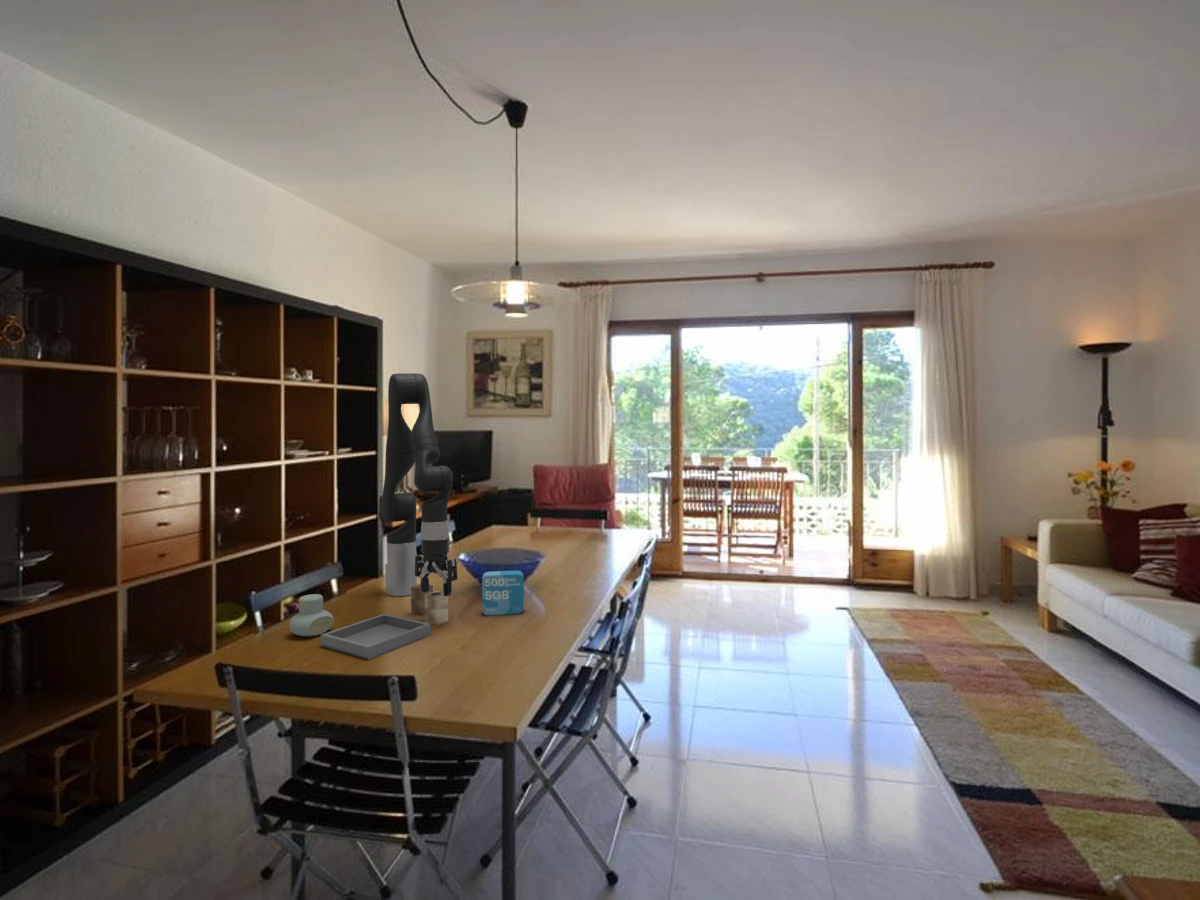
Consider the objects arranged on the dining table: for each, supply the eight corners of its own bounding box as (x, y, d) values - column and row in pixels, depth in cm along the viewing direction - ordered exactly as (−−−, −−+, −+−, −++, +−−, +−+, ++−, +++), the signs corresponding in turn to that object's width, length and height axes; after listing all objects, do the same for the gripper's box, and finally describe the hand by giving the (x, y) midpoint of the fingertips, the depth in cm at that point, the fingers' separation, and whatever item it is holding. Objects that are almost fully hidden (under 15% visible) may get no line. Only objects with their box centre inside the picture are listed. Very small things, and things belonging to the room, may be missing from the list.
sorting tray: (321, 646, 159) (320, 634, 159) (384, 624, 176) (384, 613, 176) (368, 659, 150) (368, 647, 150) (430, 635, 167) (430, 624, 167)
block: (425, 622, 178) (424, 594, 177) (436, 618, 182) (436, 590, 181) (436, 625, 175) (436, 596, 175) (448, 620, 179) (447, 592, 179)
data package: (482, 616, 183) (481, 575, 183) (483, 611, 188) (482, 571, 187) (523, 614, 185) (523, 573, 184) (523, 609, 190) (523, 570, 189)
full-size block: (411, 613, 186) (410, 586, 186) (422, 609, 190) (422, 582, 190) (422, 615, 184) (421, 588, 184) (433, 611, 188) (432, 584, 187)
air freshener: (302, 642, 162) (301, 604, 162) (283, 636, 167) (282, 599, 166) (339, 630, 172) (338, 594, 171) (320, 625, 176) (319, 590, 176)
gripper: (407, 536, 178) (408, 593, 178) (443, 541, 170) (444, 600, 171) (426, 532, 184) (428, 587, 185) (463, 536, 177) (464, 593, 177)
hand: (436, 593), depth 178 cm, fingers open, 8 cm apart
